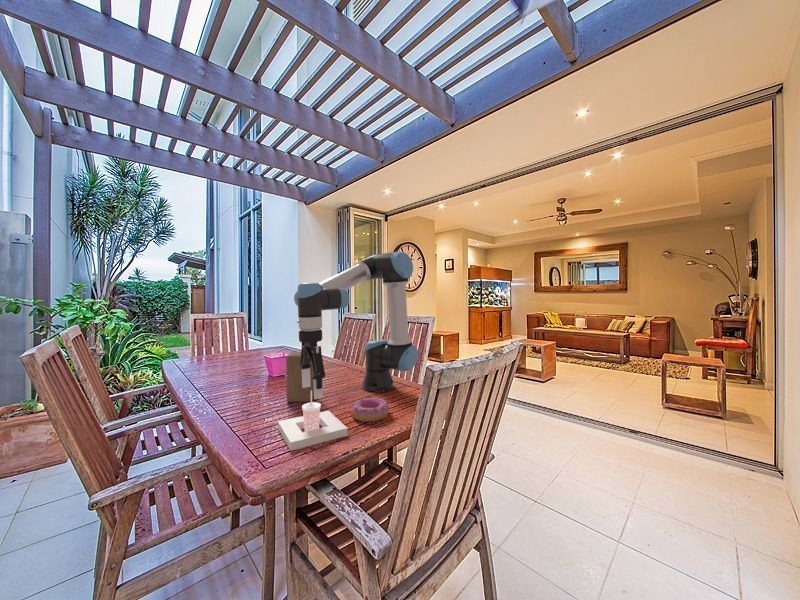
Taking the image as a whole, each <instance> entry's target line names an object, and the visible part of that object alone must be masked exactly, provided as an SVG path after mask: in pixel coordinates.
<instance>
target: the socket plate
mask: <svg viewBox="0 0 800 600" xmlns="http://www.w3.org/2000/svg"><path fill="white" fill-rule="evenodd" d="M319 426H321V427H319V429H315V430H311V431H307V432H305V431H302V429H304V417H303V415H302V416H296V417H292V418H288V419H282V420H278V421H277V430H278V431H279V433H280V435H281V437H282V438H283V440H284V441H285V443H286V445H287V447H288V449H289V451H295V450H299V449H303V448H307V447H310V446H313V445H317V444H321V443H326V442H330V441H333V440H336V439H340V438H344V437H348V427H347V426H346V425H345V424H343V422H341V421H340V420H339V419H338V418H337V417H336V416H335V415H334V414H333V413H332V412H331V411H330V410H324V411H320V418H319Z"/></svg>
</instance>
